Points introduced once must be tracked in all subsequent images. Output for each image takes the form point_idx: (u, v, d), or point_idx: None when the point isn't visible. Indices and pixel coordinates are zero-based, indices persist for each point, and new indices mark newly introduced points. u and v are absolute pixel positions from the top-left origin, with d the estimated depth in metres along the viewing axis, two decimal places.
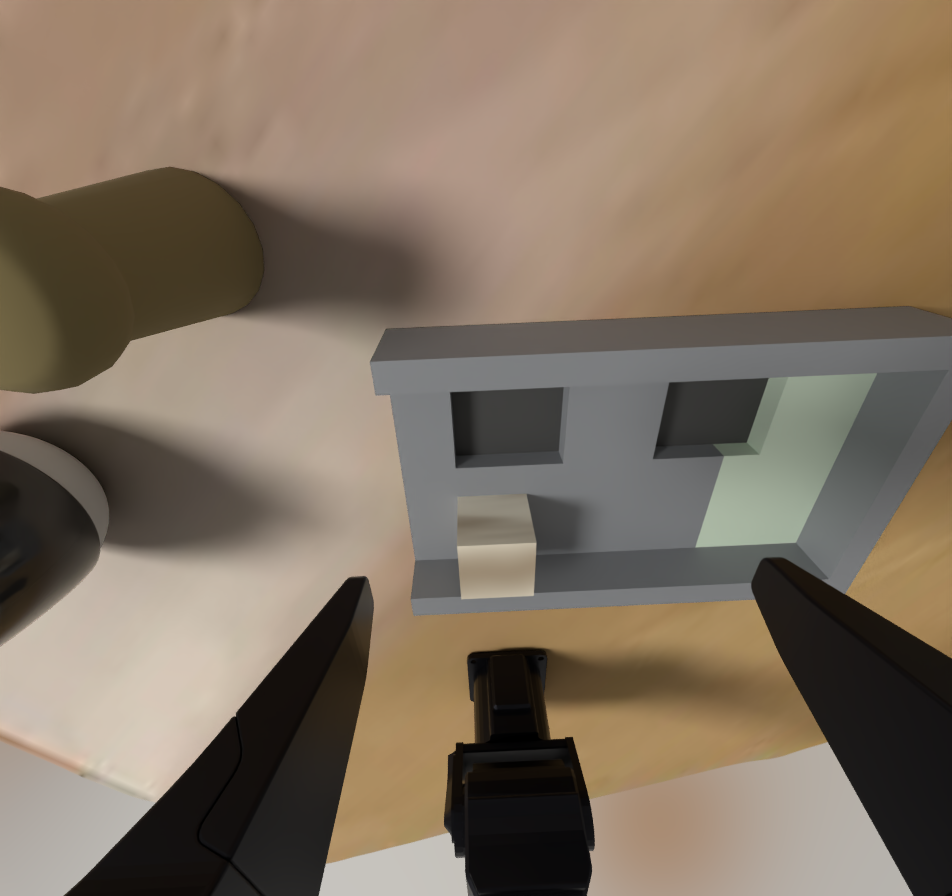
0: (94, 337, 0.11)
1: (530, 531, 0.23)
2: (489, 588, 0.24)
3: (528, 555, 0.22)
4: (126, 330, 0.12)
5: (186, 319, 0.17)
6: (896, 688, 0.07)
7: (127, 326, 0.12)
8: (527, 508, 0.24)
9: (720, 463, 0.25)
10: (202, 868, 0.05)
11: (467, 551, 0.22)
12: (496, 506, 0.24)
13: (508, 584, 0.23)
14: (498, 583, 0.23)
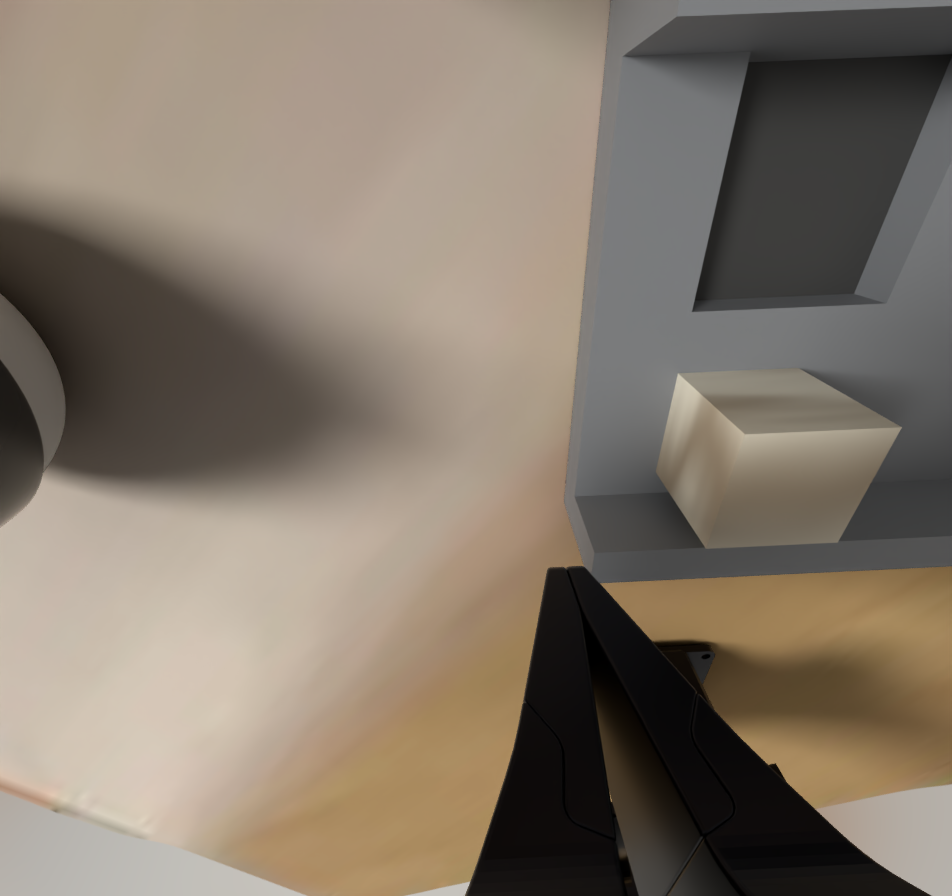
0: None
1: (868, 412, 0.12)
2: (766, 526, 0.13)
3: (871, 457, 0.12)
4: None
5: None
6: (620, 701, 0.07)
7: None
8: (822, 384, 0.13)
9: None
10: (595, 847, 0.05)
11: (759, 446, 0.11)
12: (760, 382, 0.14)
13: (804, 518, 0.13)
14: (786, 517, 0.13)
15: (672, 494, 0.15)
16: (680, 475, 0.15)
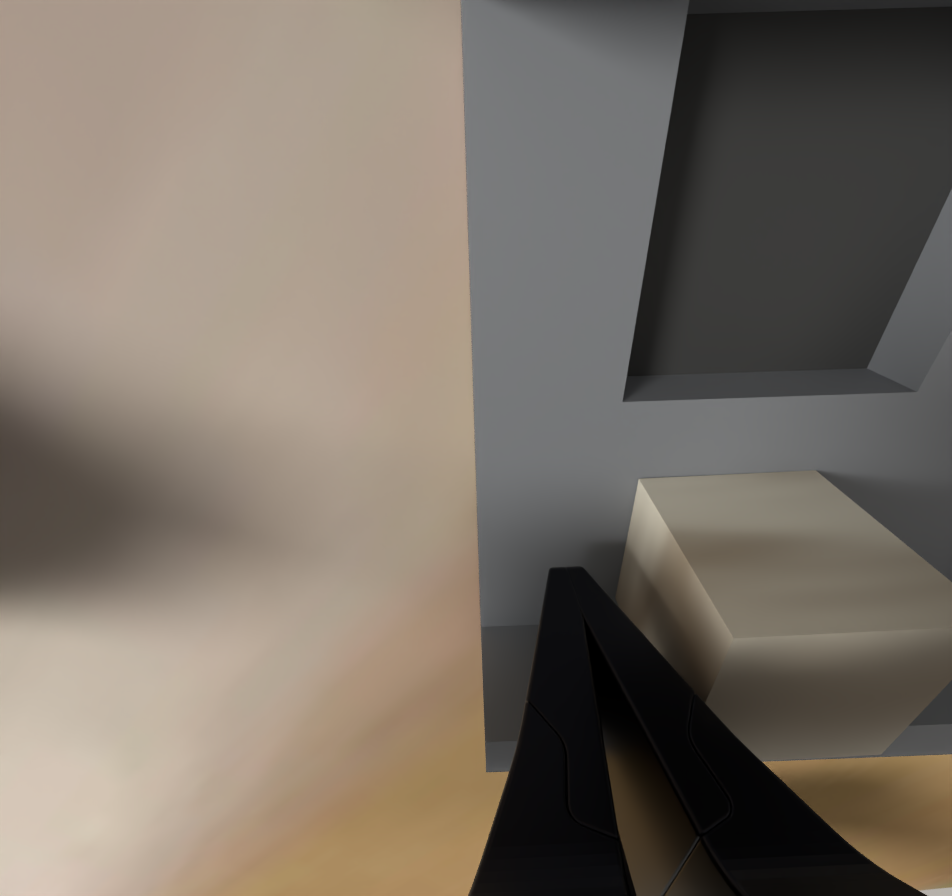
0: None
1: (939, 581, 0.07)
2: (771, 741, 0.08)
3: (947, 662, 0.07)
4: None
5: None
6: (618, 701, 0.07)
7: None
8: (855, 508, 0.09)
9: None
10: (599, 847, 0.05)
11: (759, 652, 0.07)
12: (759, 501, 0.09)
13: (831, 731, 0.08)
14: (802, 730, 0.08)
15: None
16: (644, 627, 0.10)
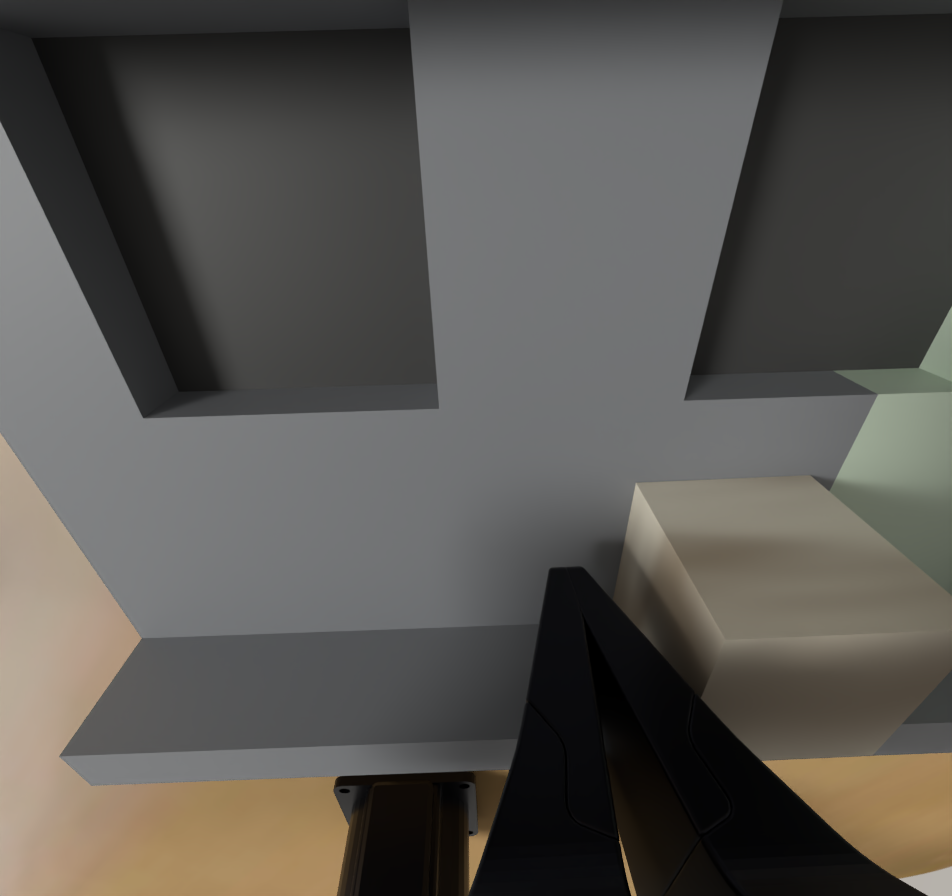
0: None
1: (928, 585, 0.07)
2: (764, 741, 0.08)
3: (934, 664, 0.07)
4: None
5: None
6: (618, 701, 0.07)
7: None
8: (848, 513, 0.09)
9: (864, 415, 0.09)
10: (599, 848, 0.05)
11: (750, 654, 0.07)
12: (755, 505, 0.09)
13: (823, 732, 0.08)
14: (795, 731, 0.08)
15: None
16: (640, 629, 0.10)
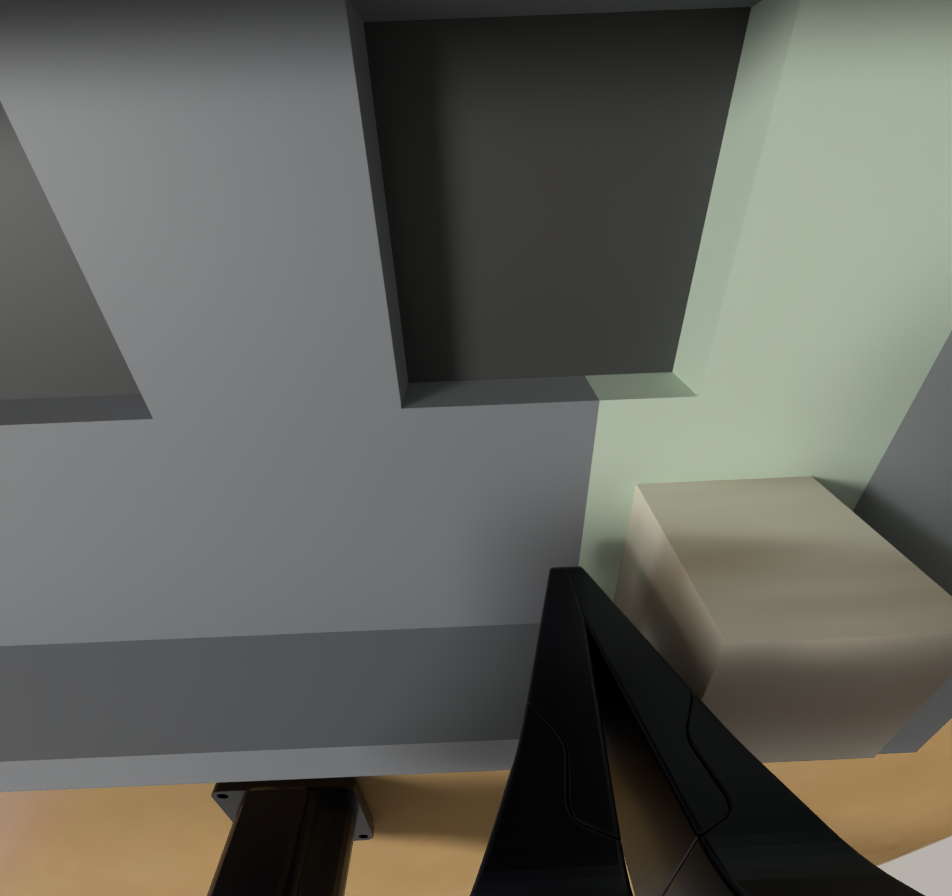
0: None
1: (930, 587, 0.07)
2: (764, 743, 0.08)
3: (936, 667, 0.07)
4: None
5: None
6: (617, 702, 0.07)
7: None
8: (849, 514, 0.09)
9: (593, 422, 0.09)
10: (601, 848, 0.05)
11: (751, 656, 0.07)
12: (755, 507, 0.09)
13: (823, 734, 0.08)
14: (795, 733, 0.08)
15: None
16: (641, 630, 0.10)
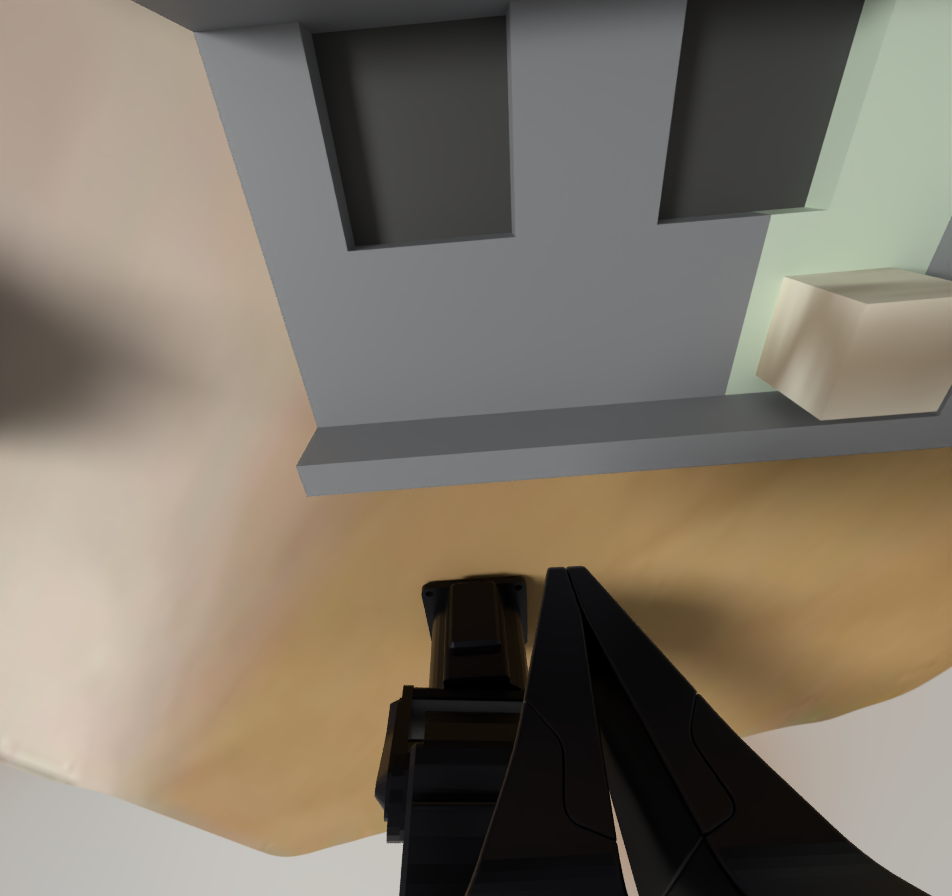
0: None
1: None
2: (876, 396, 0.15)
3: None
4: None
5: None
6: (620, 702, 0.07)
7: None
8: (919, 274, 0.15)
9: (765, 230, 0.16)
10: (595, 848, 0.05)
11: (878, 315, 0.13)
12: (862, 276, 0.16)
13: (910, 387, 0.15)
14: (894, 386, 0.15)
15: (777, 387, 0.17)
16: (788, 366, 0.17)
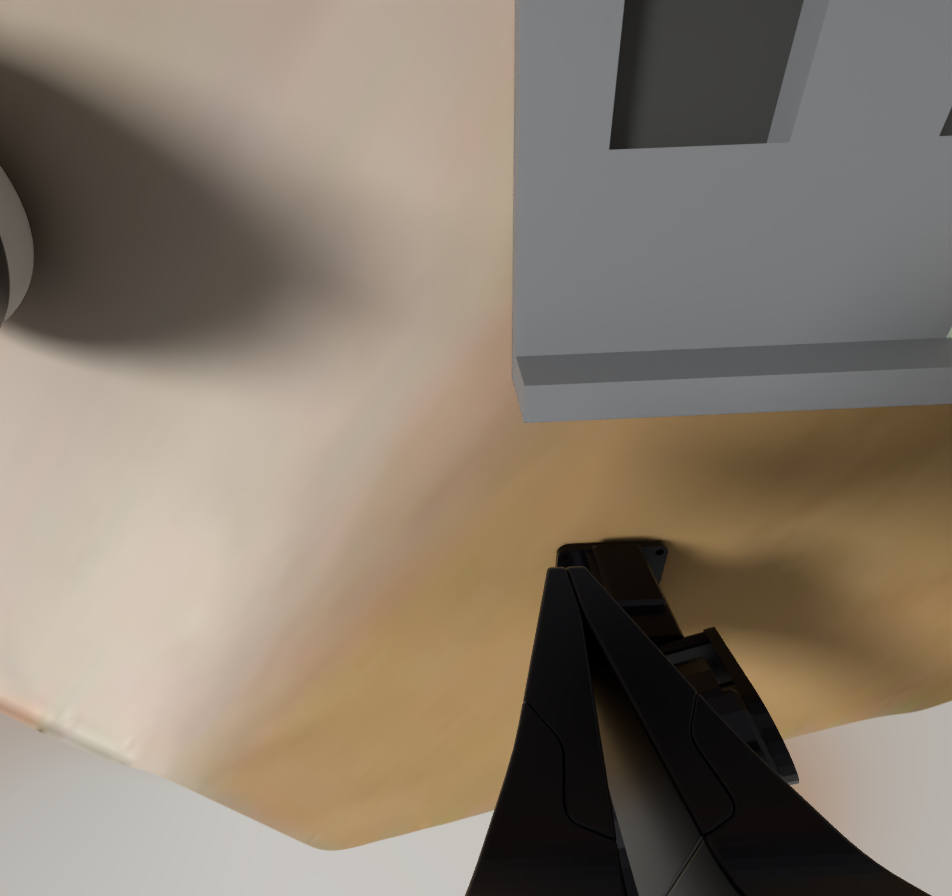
0: None
1: None
2: None
3: None
4: None
5: None
6: (620, 701, 0.07)
7: None
8: None
9: None
10: (595, 847, 0.05)
11: None
12: None
13: None
14: None
15: None
16: None
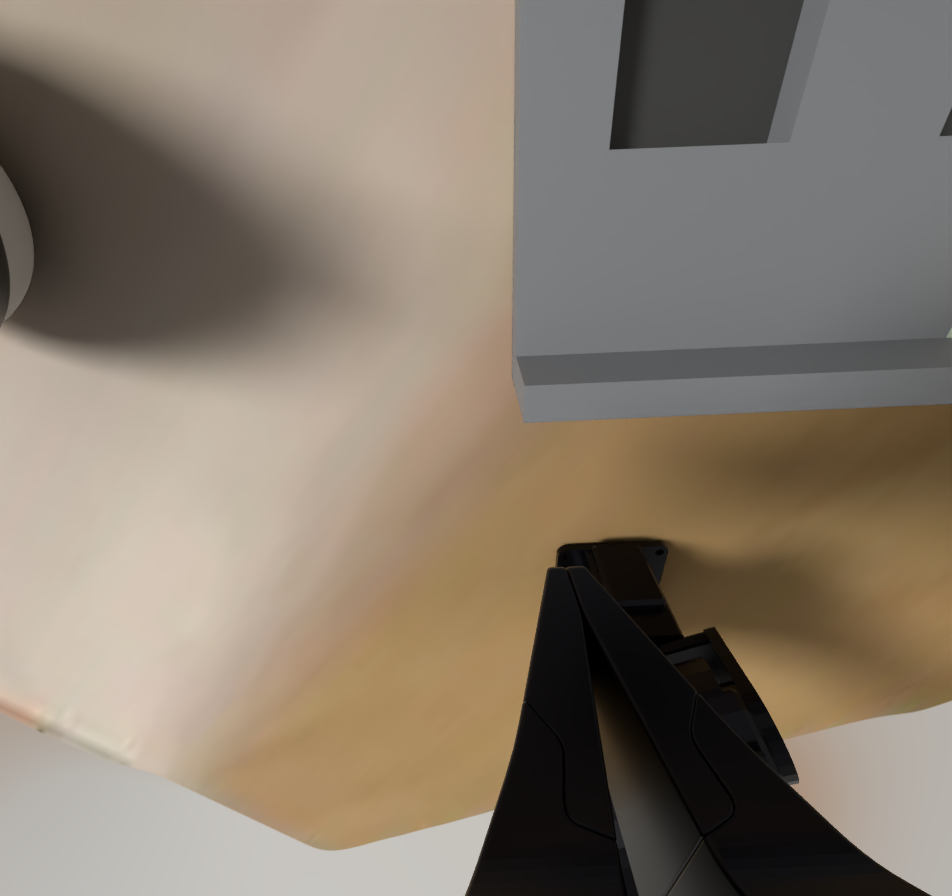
0: None
1: None
2: None
3: None
4: None
5: None
6: (620, 701, 0.07)
7: None
8: None
9: None
10: (596, 847, 0.05)
11: None
12: None
13: None
14: None
15: None
16: None
